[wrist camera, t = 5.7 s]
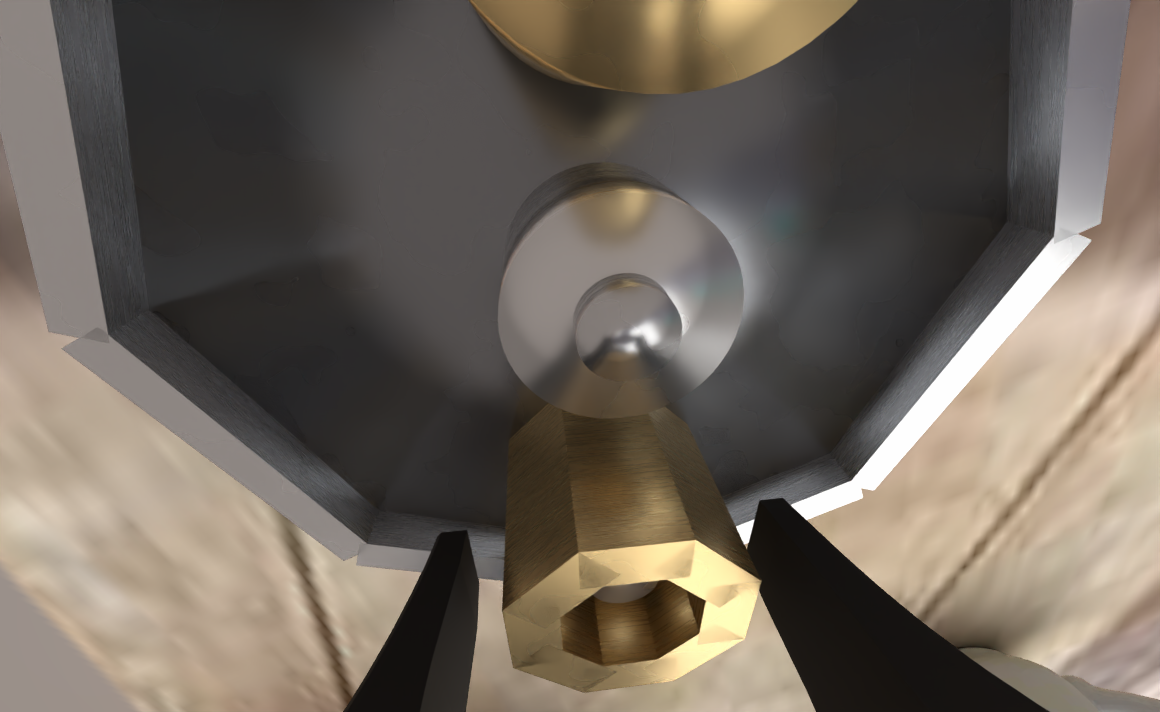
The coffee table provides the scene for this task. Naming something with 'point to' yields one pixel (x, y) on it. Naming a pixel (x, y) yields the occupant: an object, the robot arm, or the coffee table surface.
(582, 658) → the gear
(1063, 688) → the teacup
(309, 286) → the tray
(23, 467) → the coffee table surface
